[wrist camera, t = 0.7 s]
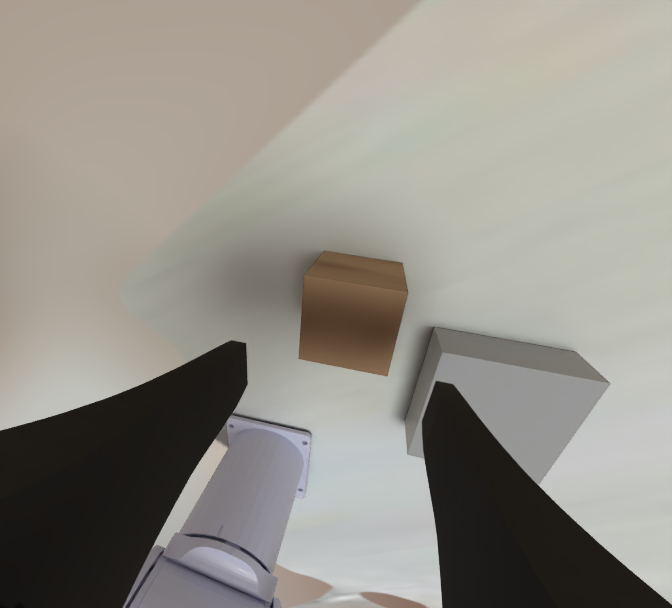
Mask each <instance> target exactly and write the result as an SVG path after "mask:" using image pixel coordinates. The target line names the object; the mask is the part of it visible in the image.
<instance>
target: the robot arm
mask: <svg viewBox="0 0 672 608" xmlns="http://www.w3.org/2000/svg"><path fill="white" fill-rule="evenodd" d="M247 384H248V381H247V354H246V343H242V342H237V341H232V340H231V341H229V342H227V343H225V344H223V345H221V346H219V347H217V348H215V349H213V350H211V351H209V352H207V353H205V354H203V355H202V356H200V357H198V358H196V359H194V360H192V361H190V362H188V363H186V364H184V365H182V366H180V367H178V368H176V369H174V370H172V371H170V372H167V373H165V374H163V375H161V376H159V377H157V378H155V379H153V380H151V381H148V382H146V383H144V384H142V385H139V386H137V387H134V388H132V389H129V390H127V391H124V392H122V393H119V394H117V395H114V396H112V397H109V398H106V399H103V400H101V401H98V402H95V403H92V404H89V405H86V406H83V407H80V408H77V409H74V410H71V411H68V412H65V413H62V414H59V415H55V416H52V417H48V418H45V419H41V420H38V421H35V422H31V423H27V424H24V425H20V426H16V427H12V428H9V429H5V430H1V431H0V608H282V607H281V602H280V600H279V599H278V598H276V597H274V596H273V595H274V592H275V588H276V584H277V581H278V578H277V577H275V576H273V571H274V568H275V564H276V561H277V557H278V554H279V550H280V547H281V543H282V540H283V536H284V533H285V529H286V526H287V522H288V519H289V515H290V512H291V508H292V505H293V501H294V498H295V497H296V498H300V499H302V498H304V497H305V494H306V484H307V475H308V466H309V456H310V447H311V438H312V437H311V435H310V434H309V433H308V432H304V431H299V430H295V429H291V428H286V427H282V426H277V425H273V424H268V423H264V422H260V421H255V420H251V419H246V418H242V417H237V416H233V415H231V414H232V413H233V411H234V410H235V408H236V406H237V404H238V402H239V401H240V399H241V397H242V395H243V393H244V391H245V388H246V386H247ZM225 423H227V435H228V446H229V448H228V450H227V452H226V454H225V455H224V457H223V459H222V460H221V462H220V464H219V465H218V467H217V469H216V470H215V472H214V474H213V476H212V477H211V479H210V481H209V482H208V484H207V486H206V488H205V489H204V491H203V493H202V494H201V496H200V498H199V500H198V501H197V503H196V505H195V506H194V508H193V510H192V512H191V513H190V515H189V517H188V519H187V520H186V522H185V524H184V525H183V527H182V529H181V530H180V532H179V533H175V534H174V536H173V537H172V539H171V541H170V543H169V544H168V546H167V548H166V549H165V548H163V547H161V546H159V545H156V546H155V547H153V545H154V543H155V541H156V539H157V537H158V535H159V533H160V531H161V529H162V527H163V526H164V523H165V522H166V520H167V518H168V516H169V514H170V512H171V510H172V509H173V507H174V505H175V503H176V501H177V499H178V498H179V496H180V494H181V492H182V490H183V488H184V487H185V485H186V483H187V481H188V480H189V478H190V476H191V474H192V473H193V471H194V469H195V468H196V466H197V465H198V463H199V461H200V460H201V458H202V457H203V455H204V454H205V453H206V451H207V449H208V448H209V447H210V445H211V444H212V442H213V441H214V439H215V438H216V436H217V435H218V433H219V432H220V431H221V429H222V428H223V426H224V425H225ZM422 440H423V452H424V459H425V465H426V471H427V477H428V483H429V488H430V494H431V500H432V506H433V512H434V518H435V524H436V532H437V541H438V553H439V565H440V577H441V592H442V607H443V608H672V605H671V604H670V603H669V602H668V601H666V600H665V599H664V598H663V597H662V596H660V595H659V594H658V593H657V592H656V591H654V590H653V589H652V588H651V587H650V586H648V585H647V584H646V583H645V582H644V581H642V580H641V579H640V578H639V577H638V576H636V575H635V574H634V573H633V572H632V571H630V570H629V569H628V568H627V567H626V566H625V565H623V564H622V563H621V562H620V561H619V560H618V559H616V558H615V557H614V556H613V555H612V554H611V553H610V552H608V551H607V550H606V549H605V548H604V547H603V546H602V545H600V544H599V543H598V542H597V541H596V540H595V539H594V538H593V537H592V536H591V535H589V534H588V533H587V532H586V531H585V530H584V529H583V528H582V527H581V526H580V525H578V524H577V523H576V522H575V521H574V520H573V519H572V518H571V517H570V516H569V515H568V514H567V513H566V512H565V511H564V510H562V509H561V508H560V507H559V506H558V505H557V504H556V503H555V502H554V501H553V500H552V499H551V498H550V497H549V496H548V495H547V494H546V493H545V492H544V491H543V490H542V489H541V488H540V487H539V486H538V485H537V484H536V483H535V482H534V481H533V480H532V478H531V477H530V476H529V475H528V474H527V473H526V472H525V471H524V470H523V469H522V468H521V467H520V466H519V464H518V463H517V462H516V461H515V460H514V459H513V458H512V456H511V455H510V454H509V453H508V452H507V451H506V450H505V449H504V447H503V446H502V445H501V444H500V443H499V441H498V440H497V439H496V438H495V437H494V436H493V434H492V433H491V432H490V431H489V429H488V428H487V427H486V426H485V424H484V423H483V422H482V421H481V419H480V418H479V417H478V416H477V414H476V413H475V412H474V410H473V409H472V408H471V406H470V405H469V404H468V402H467V401H466V400H465V399H464V397H463V396H462V395H461V393H460V392H459V391H458V389H457V388H456V387H455V386H454V384H450V383H445V382H440V381H436V382H435V384H434V387H433V390H432V393H431V396H430V399H429V402H428V405H427V407H426V410H425V413H424V416H423V419H422ZM152 547H153V548H152ZM164 550H165V551H164Z"/></svg>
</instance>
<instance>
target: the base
mask: <svg viewBox="0 0 672 608" xmlns="http://www.w3.org/2000/svg"><path fill="white" fill-rule="evenodd" d="M436 381H440V382H445V383H450V384H454V386H455V387H456V388H457V389H458V391H459V392H460V393H461V395H462V396H463V397H464V399H465V400H466V401H467V402H468V404H469V405H470V406H471V408H472V409H473V410H474V412H475V413H476V414H477V416H478V417H479V418H480V419H481V421H482V422H483V423H484V424H485V426H486V427H487V428H488V429H489V431H490V432H491V433H492V434H493V436H494V437H495V438H496V439H497V440H498V441H499V443H500V444H501V445H502V446H503V447H504V449H505V450H506V451H507V452H508V453H509V454H510V455H511V456H512V458H513V459H514V460H515V461H516V462H517V463H518V464H519V466H520V467H521V468H522V469H523V470H524V471H525V472H526V473H527V474H528V475H529V476H530V477H531V478H532V480H533V481H534V482H535V483H536V484H540V483H541V481H542V480H543V478H544V477H545V476H546V474H547V473H548V471H549V470H550V468H551V467H552V466H553V464H554V463H555V461H556V460H557V459H558V457H559V456H560V454H561V453H562V452H563V450H564V449H565V447H566V446H567V444H568V443H569V442H570V440H571V439H572V437H573V436H574V435H575V433H576V432H577V430H578V429H579V428H580V426H581V425H582V423H583V422H584V420H585V419H586V418H587V416H588V415H589V413H590V412H591V411H592V409H593V408H594V406H595V405H596V403H597V402H598V401H599V399H600V398H601V396H602V395H603V394H604V392H605V391H606V389H607V388H608V387H609V385H610V384H611V383H610V382H608V381H607V380H606V379H605V378H604V377H603V376H602V375H601V374H600V373H599V372H598V371H596V370H595V369H594V368H593V367H592V366H591V365H590V364H589V363H588V362H587V361H586V360H585V359H583V358H582V357H581V356H580V355H579V354H578V353H577V352H573V351H567V350H562V349H556V348H550V347H545V346H539V345H533V344H528V343H522V342H516V341H511V340H505V339H500V338H494V337H488V336H483V335H477V334H471V333H466V332H460V331H454V330H449V329H443V328H437V327H434V330H433V333H432V336H431V339H430V342H429V346H428V349H427V352H426V355H425V358H424V362H423V365H422V368H421V371H420V375H419V378H418V381H417V384H416V387H415V391H414V394H413V397H412V400H411V404H410V407H409V410H408V413H407V416H406V420H405V429H406V442H407V455H412V456H416V457H420V458H424V452H423V440H422V419H423V416H424V413H425V410H426V407H427V405H428V402H429V399H430V396H431V393H432V390H433V387H434V384H435V382H436Z"/></svg>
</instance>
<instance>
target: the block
mask: <svg viewBox="0 0 672 608" xmlns="http://www.w3.org/2000/svg"><path fill="white" fill-rule="evenodd" d="M407 295H408V289H407V284H406V279H405V273H404V268H403V263H399V262H393V261H386V260H380V259H373V258H367V257H361V256H354V255H348V254H341V253H335V252H328V251H324V252H323V253H322V255H321V256H320V257H319V258H318V259H317V260H316V262H315V263H314V264H313V265H312V266H311V268H310V269H309V270H308V271H307V272H306V274H305V275H304V285H303V300H302V315H301V330H300V345H299V359H302V360H307V361H312V362H317V363H322V364H327V365H332V366H337V367H342V368H348V369H353V370H358V371H363V372H368V373H373V374H378V375H383V376H388V372H389V368H390V364H391V360H392V356H393V352H394V348H395V344H396V340H397V336H398V332H399V328H400V324H401V319H402V315H403V311H404V307H405V303H406V299H407Z"/></svg>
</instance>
